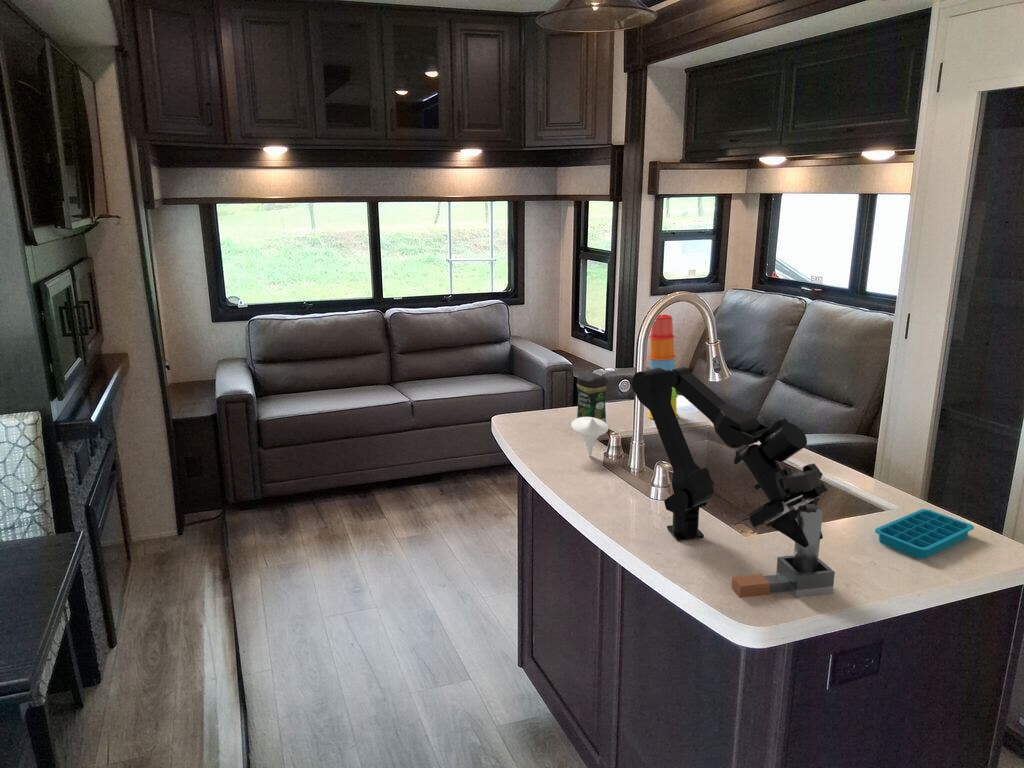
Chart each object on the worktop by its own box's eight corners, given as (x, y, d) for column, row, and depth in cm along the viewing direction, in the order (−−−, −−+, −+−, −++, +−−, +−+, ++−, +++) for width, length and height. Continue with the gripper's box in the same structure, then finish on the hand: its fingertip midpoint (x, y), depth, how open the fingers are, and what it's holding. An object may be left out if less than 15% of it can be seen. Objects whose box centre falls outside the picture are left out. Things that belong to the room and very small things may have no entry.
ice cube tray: (974, 538, 164) (976, 526, 163) (922, 564, 154) (924, 551, 153) (922, 519, 174) (924, 508, 173) (870, 542, 163) (872, 530, 163)
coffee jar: (572, 427, 244) (572, 372, 239) (591, 422, 248) (591, 368, 244) (591, 435, 236) (591, 378, 232) (610, 430, 240) (611, 374, 236)
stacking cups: (657, 422, 247) (660, 319, 238) (642, 414, 256) (644, 314, 247) (684, 419, 250) (688, 317, 241) (668, 410, 259) (671, 312, 250)
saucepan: (727, 582, 148) (728, 562, 147) (811, 573, 150) (812, 553, 149) (744, 603, 140) (746, 581, 139) (832, 593, 143) (834, 571, 142)
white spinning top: (614, 458, 216) (615, 419, 213) (581, 464, 212) (581, 424, 209) (597, 447, 225) (597, 409, 222) (565, 452, 221) (565, 414, 218)
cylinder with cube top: (790, 564, 148) (796, 500, 144) (814, 566, 147) (820, 501, 144) (795, 576, 144) (800, 510, 140) (819, 577, 143) (825, 511, 139)
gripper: (766, 464, 137) (816, 541, 131) (822, 442, 148) (871, 512, 142) (728, 491, 145) (774, 564, 140) (784, 468, 156) (828, 535, 150)
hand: (813, 542), depth 143 cm, fingers closed on cylinder with cube top, 4 cm apart
